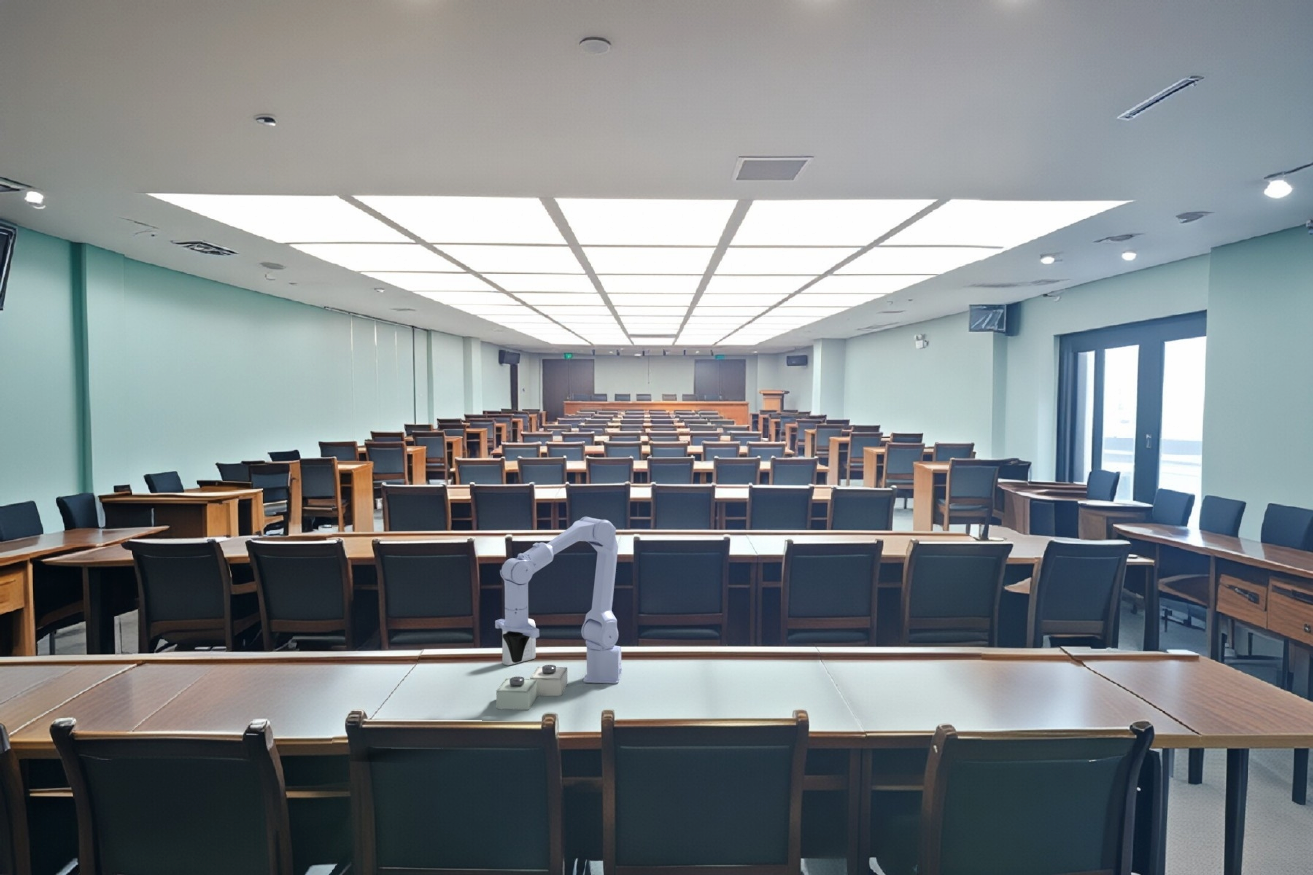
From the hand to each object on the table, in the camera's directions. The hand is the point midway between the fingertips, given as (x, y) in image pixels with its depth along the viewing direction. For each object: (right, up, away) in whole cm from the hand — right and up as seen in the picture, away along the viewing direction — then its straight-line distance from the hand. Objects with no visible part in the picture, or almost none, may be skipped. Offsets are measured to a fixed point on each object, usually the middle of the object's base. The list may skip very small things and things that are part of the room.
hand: (517, 661), depth 172 cm
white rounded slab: (-6, -10, +31) cm, 33 cm away
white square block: (+7, -10, +9) cm, 15 cm away
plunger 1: (0, -10, 0) cm, 10 cm away
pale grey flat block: (0, -10, 0) cm, 10 cm away
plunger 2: (+7, -10, +9) cm, 15 cm away
